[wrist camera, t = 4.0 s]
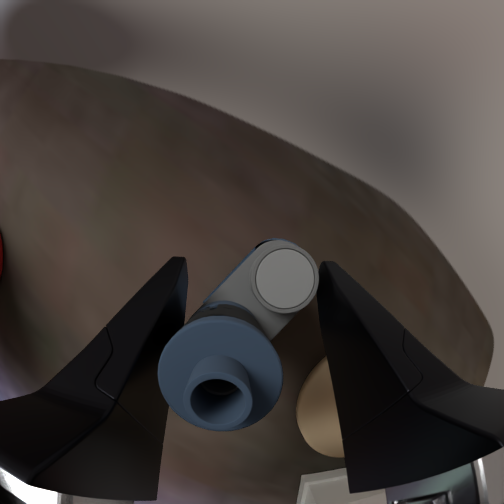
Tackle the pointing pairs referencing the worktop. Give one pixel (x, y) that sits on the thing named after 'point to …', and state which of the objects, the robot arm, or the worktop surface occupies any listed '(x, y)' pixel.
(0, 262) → the canned food
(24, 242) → the worktop surface
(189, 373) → the vaping device
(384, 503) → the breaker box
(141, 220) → the worktop surface
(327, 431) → the coaster
